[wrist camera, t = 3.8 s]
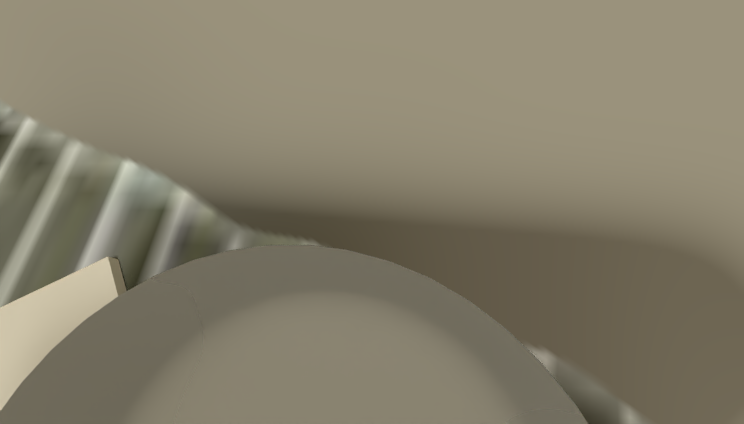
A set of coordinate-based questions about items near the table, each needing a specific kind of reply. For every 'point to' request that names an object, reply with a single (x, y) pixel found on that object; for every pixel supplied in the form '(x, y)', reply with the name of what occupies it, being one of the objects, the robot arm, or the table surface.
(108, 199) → the table surface
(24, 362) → the tile
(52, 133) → the table surface
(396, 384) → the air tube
